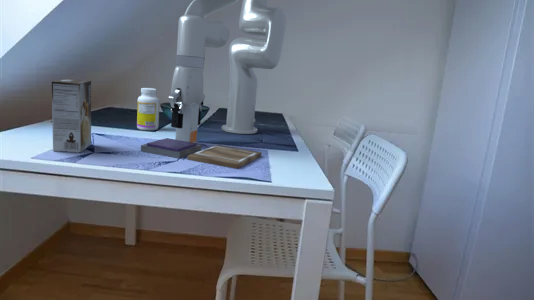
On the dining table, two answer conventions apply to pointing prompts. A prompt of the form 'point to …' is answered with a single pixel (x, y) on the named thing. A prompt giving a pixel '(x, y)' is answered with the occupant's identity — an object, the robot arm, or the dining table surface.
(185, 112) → the skincare box
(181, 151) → the ink pad
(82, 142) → the coffee box
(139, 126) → the supplement bottle
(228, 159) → the wooden tray
